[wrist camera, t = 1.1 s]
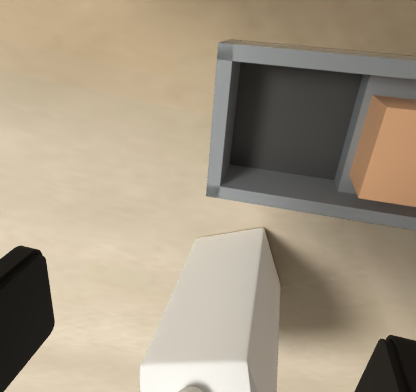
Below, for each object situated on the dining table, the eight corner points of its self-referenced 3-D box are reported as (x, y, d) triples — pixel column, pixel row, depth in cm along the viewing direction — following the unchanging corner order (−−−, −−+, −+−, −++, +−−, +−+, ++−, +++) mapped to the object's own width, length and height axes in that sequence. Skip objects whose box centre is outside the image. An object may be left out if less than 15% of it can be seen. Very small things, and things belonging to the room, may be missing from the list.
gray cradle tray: (230, 39, 26) (218, 42, 22) (647, 77, 22) (736, 90, 17) (217, 171, 31) (206, 196, 27) (553, 223, 27) (604, 261, 22)
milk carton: (281, 284, 35) (272, 516, 19) (216, 290, 37) (157, 503, 21) (264, 226, 33) (237, 436, 16) (196, 237, 35) (110, 430, 18)
